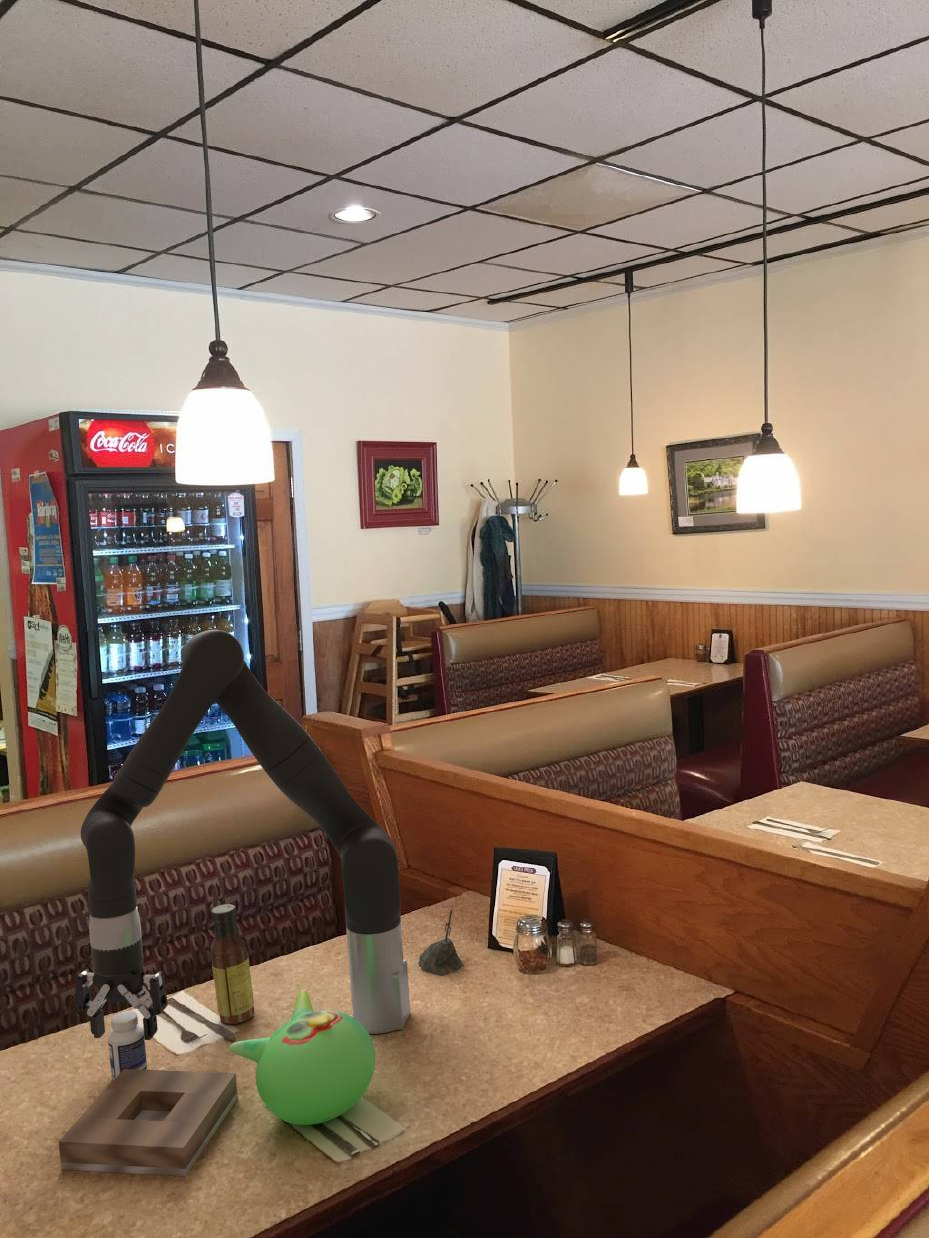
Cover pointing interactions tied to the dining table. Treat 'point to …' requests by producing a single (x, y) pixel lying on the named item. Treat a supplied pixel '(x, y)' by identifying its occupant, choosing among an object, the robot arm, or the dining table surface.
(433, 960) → the sword in stone
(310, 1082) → the toy bird
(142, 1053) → the pill bottle
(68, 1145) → the socket block
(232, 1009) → the sauce bottle
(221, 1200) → the dining table surface
